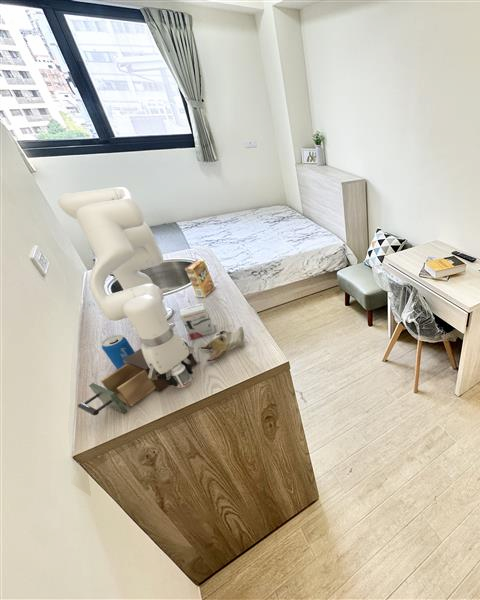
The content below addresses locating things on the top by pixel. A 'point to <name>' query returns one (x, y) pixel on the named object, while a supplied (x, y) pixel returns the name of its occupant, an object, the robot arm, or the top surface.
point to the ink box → (196, 320)
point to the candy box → (200, 278)
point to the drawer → (120, 389)
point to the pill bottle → (180, 375)
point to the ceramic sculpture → (224, 343)
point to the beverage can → (117, 349)
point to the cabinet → (140, 362)
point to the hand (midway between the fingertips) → (181, 378)
